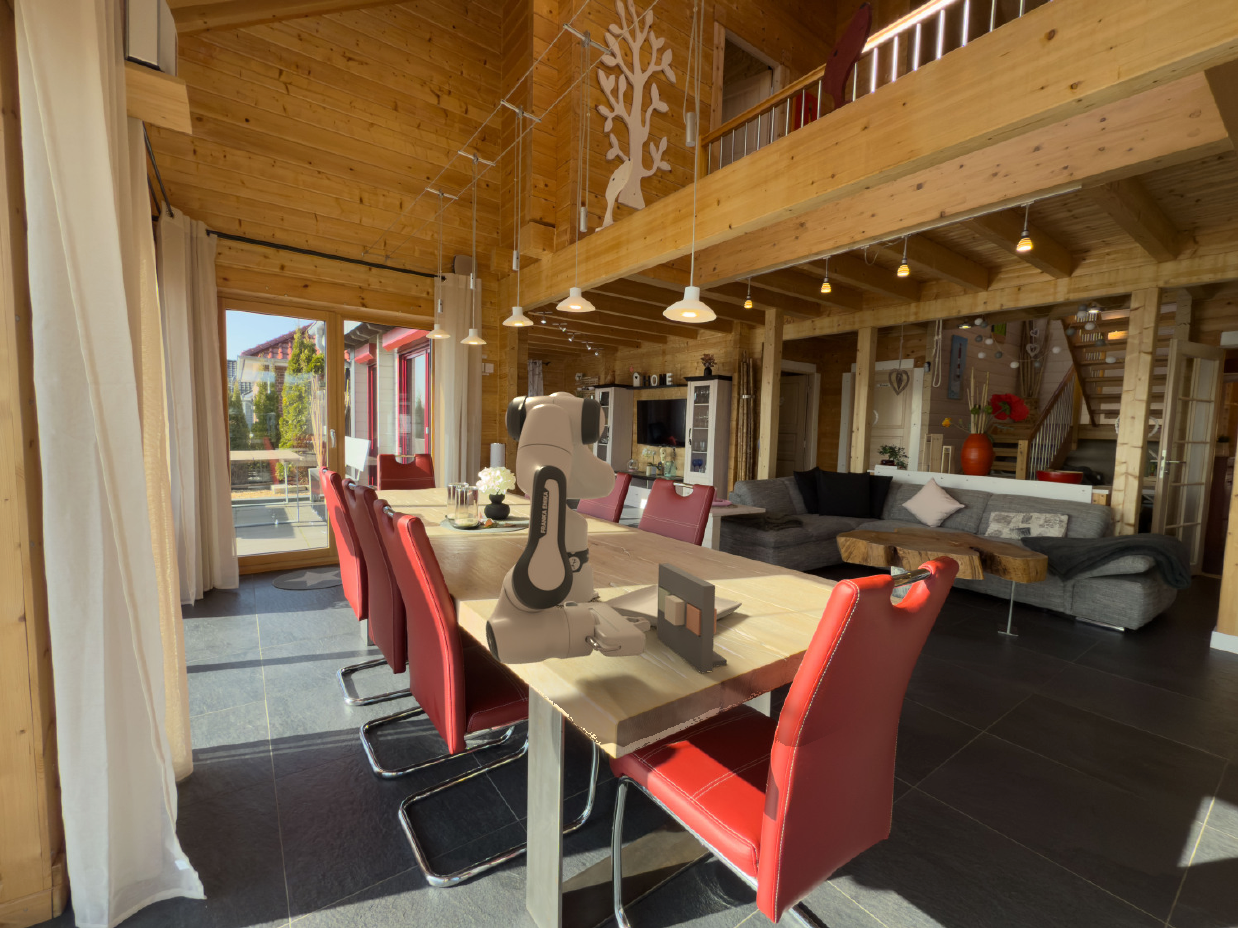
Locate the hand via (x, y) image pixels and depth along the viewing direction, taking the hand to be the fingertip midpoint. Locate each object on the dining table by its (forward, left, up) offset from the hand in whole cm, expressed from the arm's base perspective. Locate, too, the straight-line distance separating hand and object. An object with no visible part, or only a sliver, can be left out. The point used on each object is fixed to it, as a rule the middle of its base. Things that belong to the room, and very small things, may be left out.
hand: (647, 623), depth 106 cm
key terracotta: (0, +12, -3) cm, 12 cm away
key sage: (-13, +12, -3) cm, 18 cm away
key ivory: (-7, +10, -3) cm, 13 cm away
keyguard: (-7, +14, -10) cm, 18 cm away
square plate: (-31, +21, -10) cm, 39 cm away
